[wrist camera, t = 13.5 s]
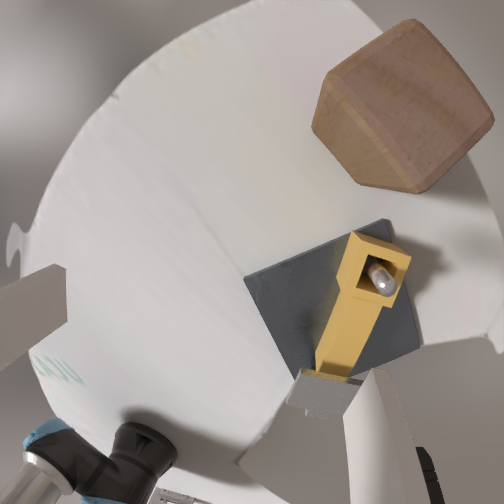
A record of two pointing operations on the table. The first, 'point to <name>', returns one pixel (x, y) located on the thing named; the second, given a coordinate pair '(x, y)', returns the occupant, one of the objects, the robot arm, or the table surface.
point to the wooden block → (400, 111)
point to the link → (357, 303)
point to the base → (329, 304)
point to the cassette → (169, 497)
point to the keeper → (322, 393)
